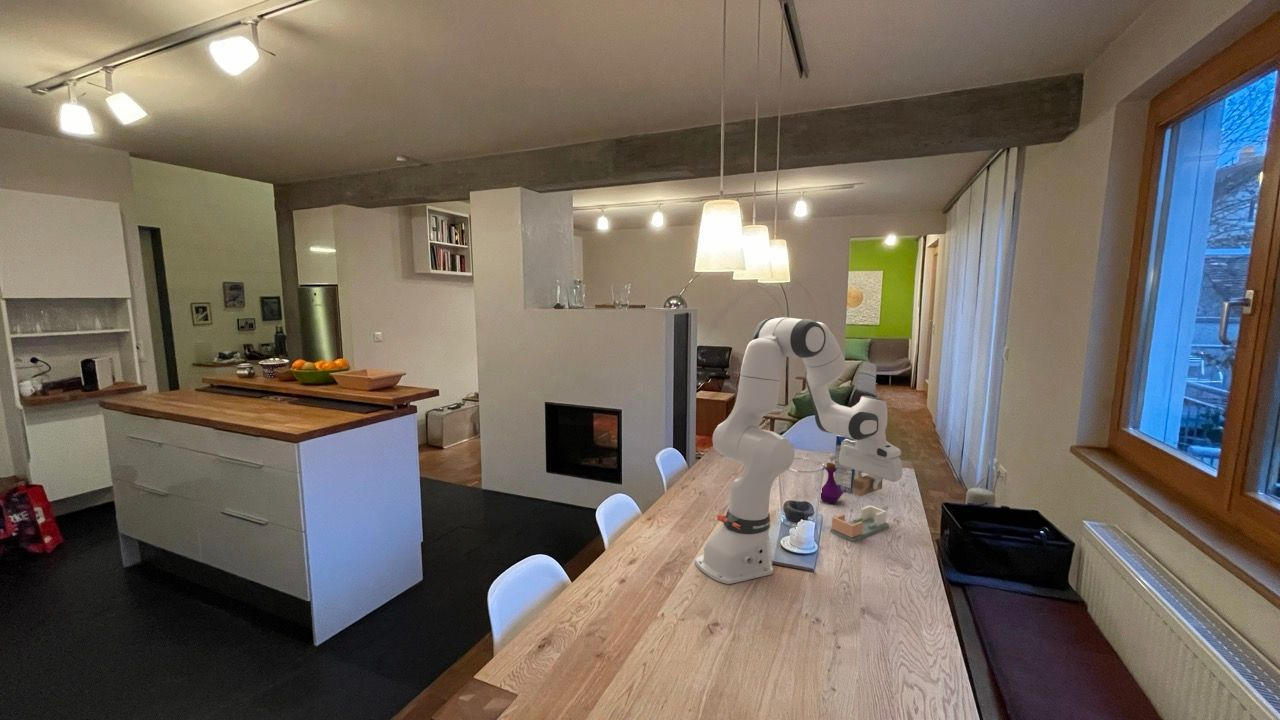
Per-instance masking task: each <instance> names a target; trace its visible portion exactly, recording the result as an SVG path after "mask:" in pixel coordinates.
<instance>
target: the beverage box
mask: <svg viewBox="0 0 1280 720" xmlns="http://www.w3.org/2000/svg"><path fill="white" fill-rule="evenodd" d="M845 439H849V440H851V441H856V440H854V439H850V438H847V437H843V436H840V435H837V434H836V441H835V453H834V455H837V456H836V458H835V459H834V465H835V468H836V469H837V470H836V471H835V472H834V480H835V483H836V484H837V485H838V487H839V488H840V489H841V490H842V491H843V493H848V494H853V493H852V487H853V480H854V479H857V476H856V474H855V470H854V469H851V468H848V467H845V466H841V465H840V463H839V455H840V451H841V442H842V441H843V440H845Z"/></svg>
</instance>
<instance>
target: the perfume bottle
mask: <svg viewBox="0 0 1280 720" xmlns="http://www.w3.org/2000/svg"><path fill="white" fill-rule="evenodd" d="M836 456H837V455H835V453H829V454H828V459H829V460H830V462H826V466H825V467H824V470H826V471H827V480H826V482H825V483H824V485H823V486H821V488H822V493H821V498H820V500H821V501H822V502H824V503H828V504H833V505H835V504H836V502H838V500H839V499H840V497H842V495H843V494H844V492H843V491H842V490H841V489H840V488H839V487H838V485H837V484H836V483H835V480H834V472H835V471H836V470H837V469H836V468H835V463H832V461H835V458H836Z"/></svg>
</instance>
